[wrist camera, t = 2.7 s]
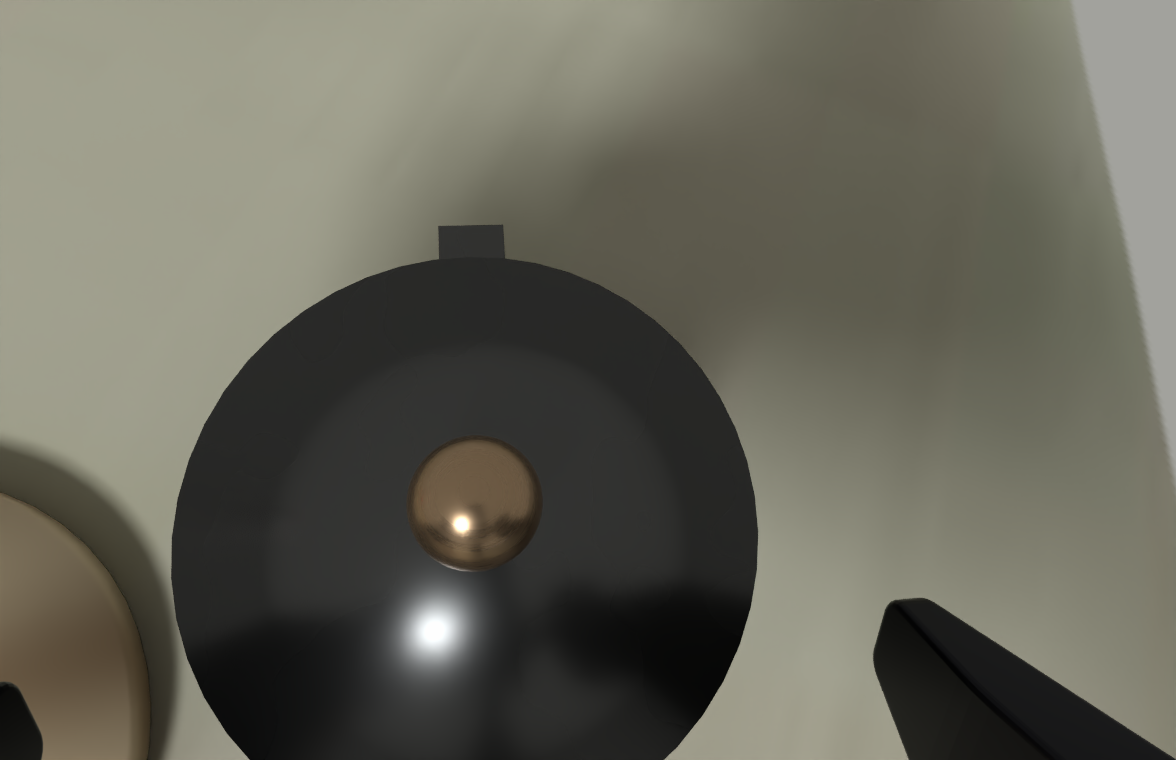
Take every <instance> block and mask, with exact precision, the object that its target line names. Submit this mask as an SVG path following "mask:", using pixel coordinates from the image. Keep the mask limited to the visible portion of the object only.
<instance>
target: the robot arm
mask: <svg viewBox="0 0 1176 760" xmlns="http://www.w3.org/2000/svg"><path fill="white" fill-rule="evenodd" d="M873 661H874V668H875V672H876V675H877V678H878V680H879V683H880V686H881V688H882V691H883V693H884V696H885V699H886V701H887V704H888V707H889V709H890V712H891V714H892V717H893V720H894V722H895V725H896V727H897V730H898V733H899V735H900V738H901V741H902V743H903V746H904V748H905V751H906V754H907V756H908V759H909V760H1176V759H1174V758H1173V757H1171V756H1170V755H1168V754H1167V753H1165V752H1164V751H1162V750H1161V749H1159V748H1157V747H1156V746H1154V745H1153V744H1151V743H1150V742H1148V741H1147V740H1145V739H1144V738H1142V737H1140V736H1139V735H1137V734H1136V733H1134V732H1133V731H1131V730H1130V729H1128V728H1127V727H1125V726H1124V725H1122V724H1120V723H1119V722H1117V721H1116V720H1114V719H1113V718H1111V717H1110V716H1108V715H1107V714H1105V713H1104V712H1102V711H1100V710H1099V709H1097V708H1096V707H1094V706H1093V705H1091V704H1090V703H1088V702H1087V701H1085V700H1084V699H1082V698H1080V697H1079V696H1077V695H1076V694H1074V693H1073V692H1071V691H1070V690H1068V689H1067V688H1065V687H1064V686H1062V685H1060V684H1059V683H1057V682H1056V681H1054V680H1053V679H1051V678H1050V677H1048V676H1047V675H1045V674H1044V673H1042V672H1040V671H1039V670H1037V669H1036V668H1034V667H1033V666H1031V665H1030V664H1028V663H1027V662H1025V661H1024V660H1022V659H1020V658H1019V657H1017V656H1016V655H1014V654H1013V653H1011V652H1010V651H1008V650H1007V649H1005V648H1003V647H1002V646H1000V645H999V644H997V643H996V642H994V641H993V640H991V639H990V638H988V637H987V636H985V635H983V634H982V633H980V632H979V631H977V630H976V629H974V628H973V627H971V626H970V625H968V624H967V623H965V622H963V621H962V620H960V619H959V618H957V617H956V616H954V615H953V614H951V613H950V612H948V611H947V610H945V609H943V608H942V607H940V606H939V605H937V604H936V603H934V602H932V601H930V600H928V599H925V598H912V599H901V600H894V601H891V602H890V603H889V604H888V605H887V607H886V609H885V612H884V616H883V619H882V623H881V626H880V630H879V633H878V637H877V640H876V644H875V648H874V653H873ZM42 754H43V739H42V734H41V732H40V729H39V727H38V725H37V723H36V721H35V719H34V717H33V715H32V713H31V711H30V709H29V707H28V705H27V703H26V701H25V699H24V697H23V695H22V693H21V691H20V689H19V688H18V686H16V685H14V684H13V683H11V682H6V681H3V682H0V760H41V759H42Z"/></svg>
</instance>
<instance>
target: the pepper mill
mask: <svg viewBox="0 0 1176 760" xmlns="http://www.w3.org/2000/svg"><path fill="white" fill-rule="evenodd" d="M438 228H439V260H431V261H426V262H421V263H416V264H411V265H406V266H401V267H398V268H395V269H391V270H388V271H385V272H382V273H379V274H376V275H373V276H370V277H367V278H365V279H362V280H360V281H358V282H356V283H354V284H352V285H349V286H347V287H345V288H343V289H341V290H339V291H336V292H334V293H333V294H331V295H329V296H328V297H326V298H324V299H323V300H321V301H320V302H318V303H316V304H315V305H313V306H311V307H310V308H308V309H306V310H305V311H303V312H302V313H301V314H299V315H298V316H297V317H296V318H294V319H293V320H292V321H291V322H289V323H288V324H287V325H285V326H284V327H283V328H282V329H280V330H279V331H278V332H277V333H275V334H274V335H273V336H272V337H271V338H270V339H269V340H268V341H267V342H266V343H265V344H264V345H263V346H262V347H261V348H260V349H259V350H258V351H257V352H256V353H255V354H254V355H253V356H252V357H251V358H250V359H249V360H248V361H247V363H246V364H245V365H244V366H243V368H242V369H241V370H240V372H239V373H238V374H237V375H236V377H235V378H234V379H233V381H232V382H231V383H230V384H229V386H228V387H227V388H226V390H225V391H224V392H223V394H222V396H221V398H220V399H219V401H218V403H217V404H216V406H215V408H214V409H213V411H212V413H211V414H210V416H209V418H208V419H207V421H206V423H205V424H204V427H203V429H202V431H201V434H200V436H199V438H198V440H197V443H196V445H195V447H194V450H193V452H192V454H191V457H190V459H189V462H188V465H187V469H186V472H185V476H184V479H183V482H182V486H181V489H180V493H179V496H178V501H177V508H176V514H175V521H174V528H173V534H172V569H171V580H172V587H173V595H174V603H175V611H176V619H177V623H178V627H179V630H180V634H181V637H182V641H183V645H184V648H185V652H186V656H187V659H188V662H189V664H190V666H191V668H192V671H193V673H194V675H195V678H196V680H197V682H198V684H199V687H200V689H201V691H202V693H203V696H204V698H205V699H206V701H207V703H208V704H209V706H210V707H211V709H212V711H213V712H214V714H215V715H216V717H217V718H218V720H219V722H220V723H221V725H222V726H223V728H224V730H225V731H226V733H227V734H228V735H229V736H230V737H231V739H232V740H233V741H234V742H235V743H236V744H237V746H238V747H239V748H240V749H241V750H242V751H243V752H244V754H245V755H246V756H247V757H248V758H249V759H250V760H664V759H665V758H666V757H667V756H668V755H669V754H670V753H671V752H672V751H674V750H675V749H676V748H677V747H678V745H679V744H680V743H681V742H682V740H683V739H684V738H685V737H686V735H687V734H688V733H689V732H690V730H691V729H692V728H693V727H694V725H695V724H696V723H697V722H698V720H699V719H700V718H701V717H702V715H703V714H704V712H705V711H706V709H707V707H708V706H709V704H710V702H711V701H712V699H713V697H714V696H715V694H716V692H717V691H718V689H719V688H720V686H721V684H722V683H723V681H724V679H725V676H726V674H727V672H728V670H729V667H730V665H731V663H732V661H733V658H734V656H735V654H736V652H737V649H738V647H739V645H740V641H741V638H742V635H743V631H744V628H745V625H746V621H747V618H748V614H749V611H750V608H751V602H752V596H753V589H754V583H755V577H756V571H757V546H758V527H757V516H756V505H755V496H754V491H753V486H752V482H751V477H750V473H749V468H748V463H747V460H746V457H745V454H744V451H743V448H742V446H741V443H740V440H739V437H738V434H737V431H736V429H735V426H734V424H733V422H732V420H731V418H730V416H729V414H728V412H727V410H726V408H725V406H724V404H723V402H722V400H721V398H720V397H719V395H718V394H717V392H716V390H715V389H714V387H713V386H712V384H711V383H710V381H709V380H708V378H707V377H706V375H705V374H704V372H703V371H702V369H701V368H700V367H699V366H698V364H697V363H696V362H695V361H694V360H693V359H692V357H691V356H690V355H689V354H688V353H687V352H686V350H685V349H684V348H683V347H682V346H681V344H680V343H679V342H678V341H677V340H675V339H674V338H673V337H672V336H671V335H670V334H669V333H668V332H667V331H666V330H665V329H663V328H662V327H661V326H660V325H659V324H658V323H657V322H656V321H655V320H653V319H652V318H651V317H649V316H648V315H647V314H645V313H644V312H642V311H641V310H640V309H638V308H637V307H635V306H634V305H633V304H631V303H630V302H628V301H627V300H625V299H623V298H622V297H620V296H618V295H616V294H614V293H612V292H611V291H609V290H607V289H605V288H603V287H602V286H600V285H598V284H595V283H593V282H591V281H588V280H586V279H583V278H581V277H578V276H576V275H573V274H571V273H568V272H565V271H562V270H558V269H554V268H551V267H547V266H543V265H540V264H536V263H530V262H524V261H517V260H510V259H505V252H504V234H503V225H471V226H438Z"/></svg>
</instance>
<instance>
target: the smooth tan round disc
mask: <svg viewBox="0 0 1176 760" xmlns="http://www.w3.org/2000/svg"><path fill="white" fill-rule="evenodd" d="M3 681H6V682H11V683H13V684H14V685H16V686H18V688H19V689H20V691H21V693H22V695H23V697H24V699H25V701H26V703H27V705H28V707H29V709H30V711H31V713H32V715H33V717H34V719H35V721H36V723H37V725H38V727H39V729H40V732H41V734H42V739H43V754H42V759H41V760H147V757H148V751H149V744H150V718H151V701H150V690H149V680H148V669H147V664H146V660H145V656H144V652H143V648H142V643H141V639H140V635H139V632H138V629H137V627H136V624H135V622H134V619H133V617H132V614H131V612H130V609H129V607H128V604H127V602H126V600H125V598H124V596H123V595H122V593H121V591H120V590H119V588H118V586H117V585H116V583H115V581H114V580H113V578H112V576H111V575H110V573H109V571H108V570H107V569H106V568H105V567H104V565H103V564H102V563H101V562H100V561H99V559H98V558H97V557H96V556H95V555H94V553H93V552H92V551H91V550H90V549H89V547H88V546H87V545H85V544H84V543H83V542H82V541H81V540H80V539H79V538H77V537H76V536H75V535H74V534H73V533H72V532H71V531H69V530H68V529H67V528H66V527H65V526H64V525H63V524H61V523H59V522H58V521H56V520H55V519H53V518H51V517H50V516H48V515H47V514H45V513H43V512H42V511H40V510H39V509H37V508H36V507H34V506H31V505H29V504H27V503H25V502H22V501H20V500H18V499H16V498H13V497H11V496H9V495H6V494H4V493H1V492H0V682H3Z"/></svg>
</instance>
